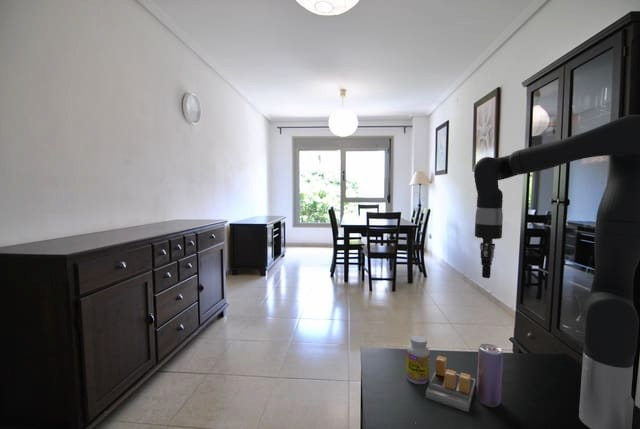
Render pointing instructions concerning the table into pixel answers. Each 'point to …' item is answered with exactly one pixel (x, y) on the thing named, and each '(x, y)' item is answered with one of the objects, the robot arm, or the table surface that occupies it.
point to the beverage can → (489, 375)
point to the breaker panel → (449, 393)
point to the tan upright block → (464, 383)
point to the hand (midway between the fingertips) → (486, 277)
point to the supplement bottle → (418, 360)
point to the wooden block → (441, 365)
